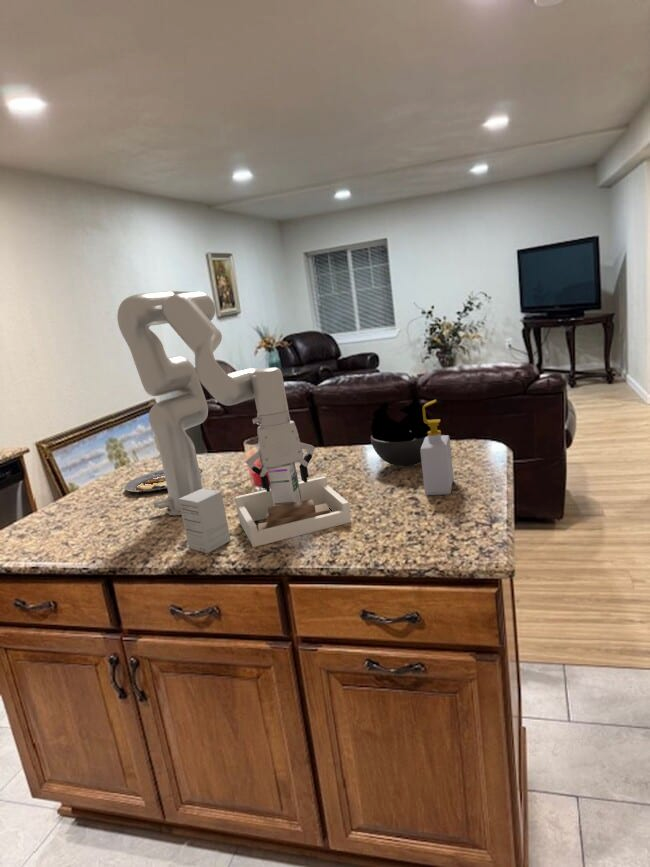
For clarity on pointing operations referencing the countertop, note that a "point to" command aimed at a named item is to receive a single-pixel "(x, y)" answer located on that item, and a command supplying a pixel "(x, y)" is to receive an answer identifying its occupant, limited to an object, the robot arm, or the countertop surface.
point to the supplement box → (204, 520)
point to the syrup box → (284, 484)
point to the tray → (315, 489)
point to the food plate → (148, 482)
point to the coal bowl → (399, 435)
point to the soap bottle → (436, 459)
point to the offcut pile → (293, 513)
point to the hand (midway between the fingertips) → (286, 485)
